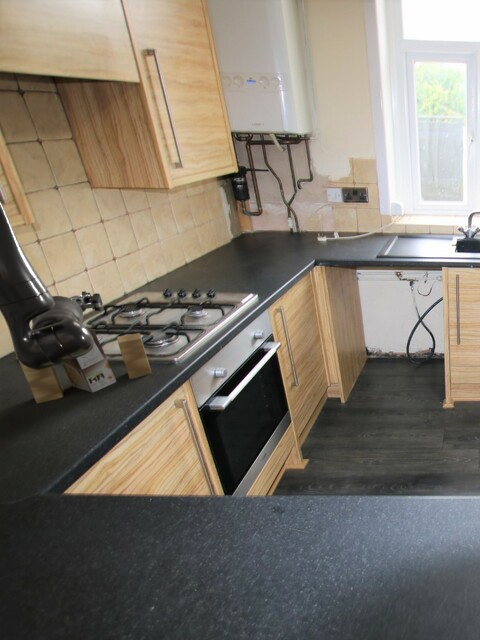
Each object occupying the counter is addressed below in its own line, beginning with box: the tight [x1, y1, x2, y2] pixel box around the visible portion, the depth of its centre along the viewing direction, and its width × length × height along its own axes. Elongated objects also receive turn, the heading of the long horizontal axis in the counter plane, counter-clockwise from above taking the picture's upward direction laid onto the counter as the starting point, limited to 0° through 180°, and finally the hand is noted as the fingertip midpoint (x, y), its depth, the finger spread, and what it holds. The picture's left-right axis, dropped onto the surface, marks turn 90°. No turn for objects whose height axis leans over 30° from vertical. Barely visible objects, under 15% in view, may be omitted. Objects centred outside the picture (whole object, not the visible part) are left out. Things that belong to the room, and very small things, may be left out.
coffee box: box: [61, 327, 117, 393], centre depth 124 cm, size 9×6×16 cm
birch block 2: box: [116, 332, 152, 380], centre depth 131 cm, size 5×5×12 cm
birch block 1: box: [18, 360, 65, 404], centre depth 120 cm, size 5×5×12 cm
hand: (60, 298), depth 109 cm, fingers open, 8 cm apart
